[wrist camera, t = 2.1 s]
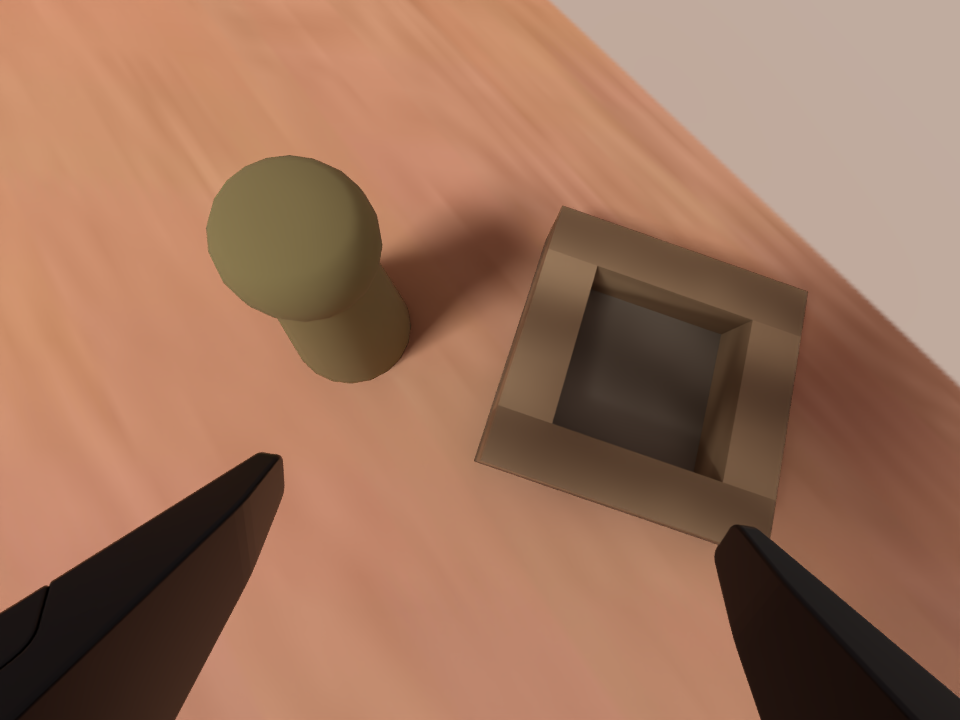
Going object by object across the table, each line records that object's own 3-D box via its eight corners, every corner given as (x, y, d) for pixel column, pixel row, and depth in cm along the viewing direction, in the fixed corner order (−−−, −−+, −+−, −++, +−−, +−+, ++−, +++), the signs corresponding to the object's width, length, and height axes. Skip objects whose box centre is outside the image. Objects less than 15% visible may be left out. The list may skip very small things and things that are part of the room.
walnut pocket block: (717, 544, 23) (766, 558, 19) (474, 461, 22) (480, 460, 19) (759, 314, 26) (807, 291, 22) (546, 239, 26) (562, 205, 22)
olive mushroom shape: (316, 259, 24) (219, 96, 13) (424, 290, 24) (414, 154, 14) (274, 364, 23) (129, 276, 12) (390, 397, 23) (349, 338, 12)
